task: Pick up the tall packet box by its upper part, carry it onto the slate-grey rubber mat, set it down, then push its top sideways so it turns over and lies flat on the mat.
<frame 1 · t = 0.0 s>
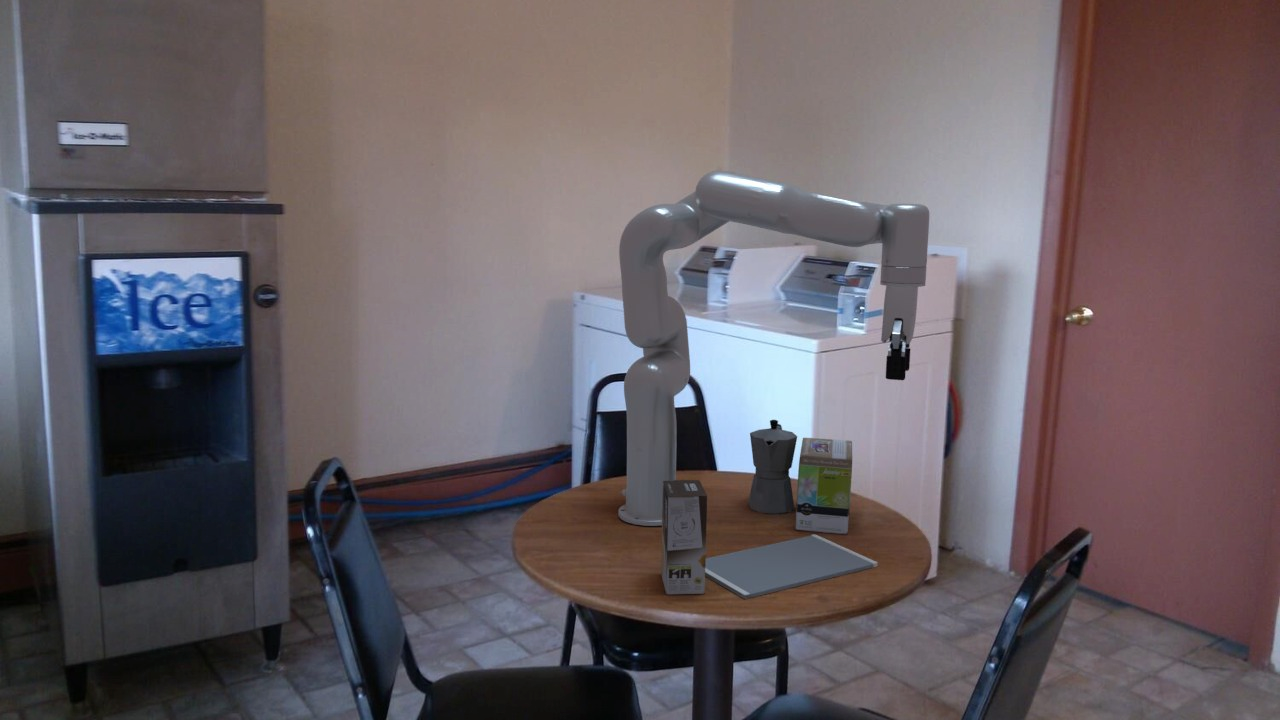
hand: (897, 374, 172), 31 cm above the table, tool pointing down, fingers open, 9 cm apart
mat: (782, 566, 167), on the table
coffeepot: (771, 506, 199), on the table
tea box: (822, 521, 191), on the table
coffee box: (682, 584, 159), on the table
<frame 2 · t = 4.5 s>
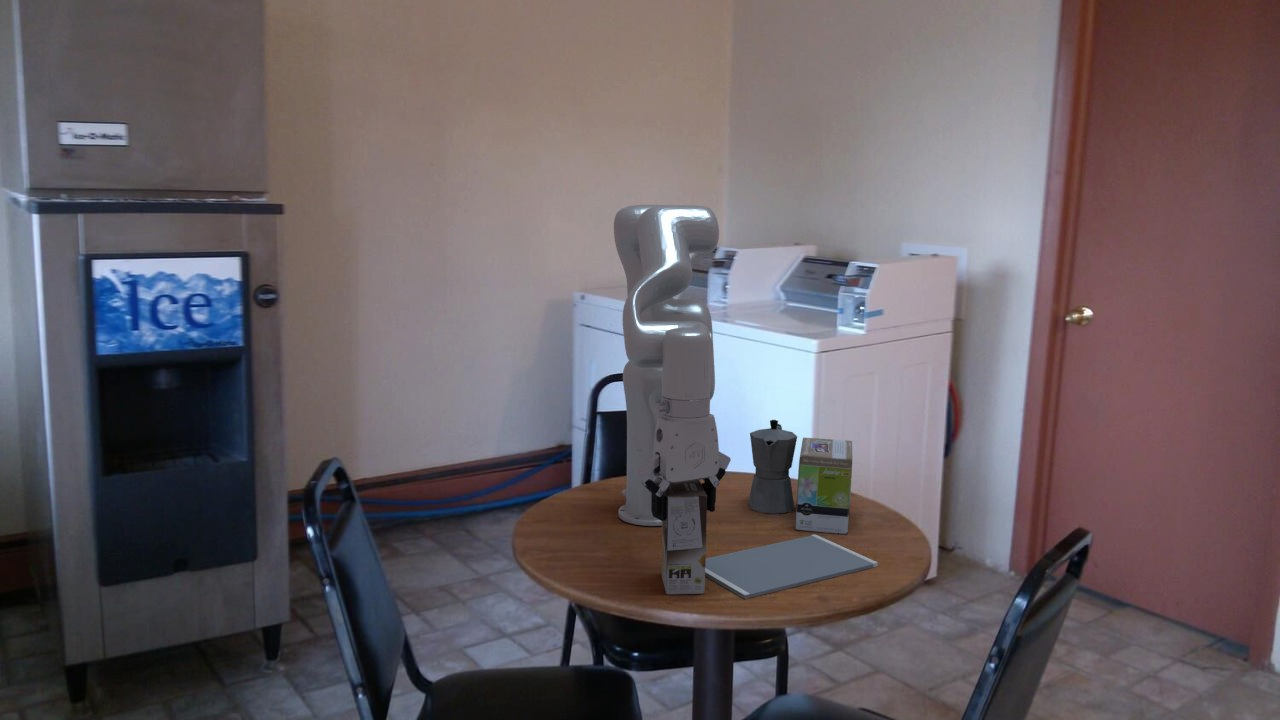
hand: (683, 513, 157), 12 cm above the table, tool pointing down, fingers closed on coffee box, 8 cm apart
coffee box: (682, 584, 159), on the table, touching gripper
everything else where it was.
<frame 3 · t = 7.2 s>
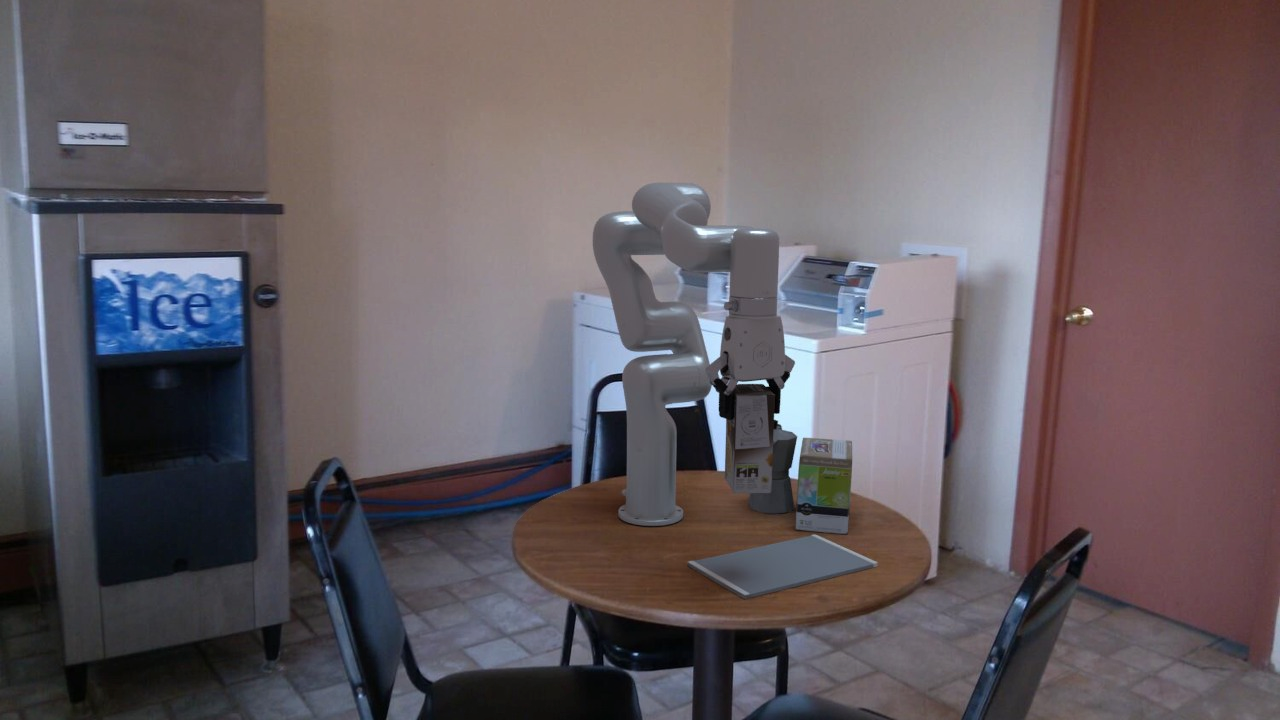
hand: (749, 414, 158), 27 cm above the table, tool pointing down, fingers closed on coffee box, 8 cm apart
coffee box: (747, 486, 160), point 15 cm above the table, touching gripper
everything else where it was.
when the fingers open (13 cm above the table, at t = 10.3 s): coffee box stays where it is, resting on mat.
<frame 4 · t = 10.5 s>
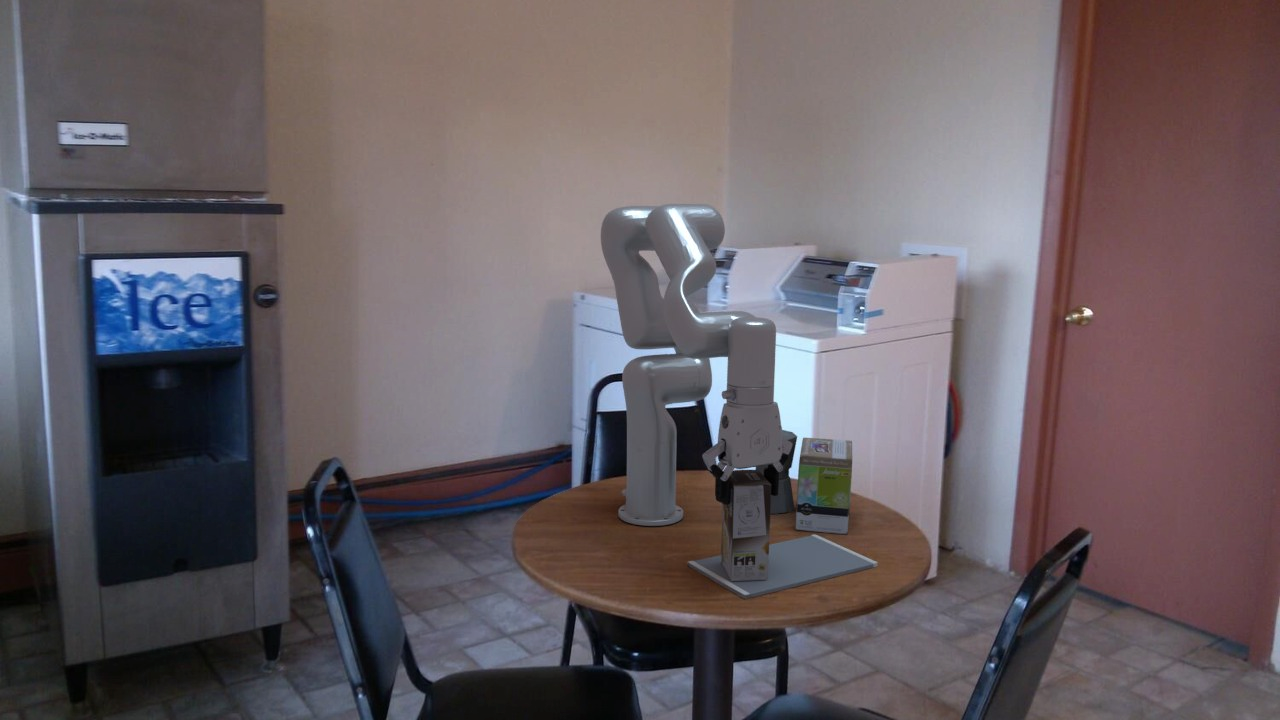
hand: (747, 498, 161), 13 cm above the table, tool pointing down, fingers open, 9 cm apart
coffee box: (743, 571, 163), resting on mat
everything else where it was.
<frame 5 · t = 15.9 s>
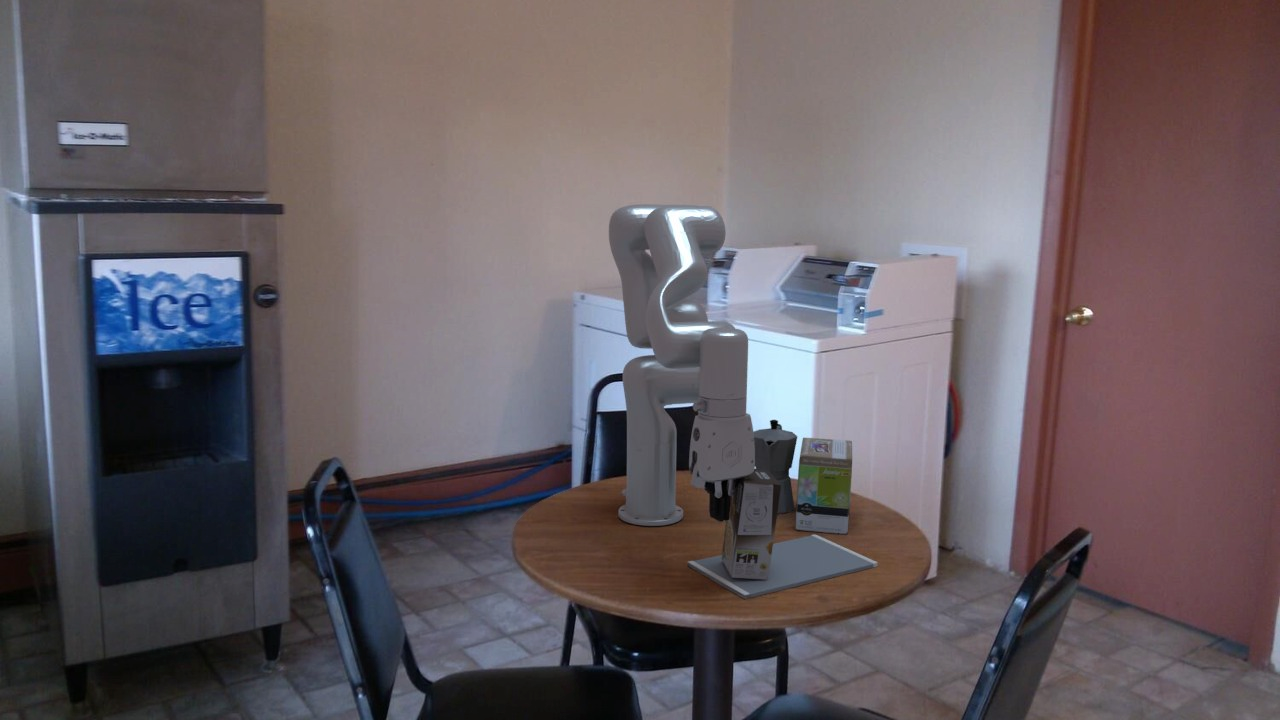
hand: (719, 518, 158), 11 cm above the table, tool pointing down, fingers closed
coffee box: (743, 570, 163), point 1 cm above the table, touching gripper, mat
everything else where it was.
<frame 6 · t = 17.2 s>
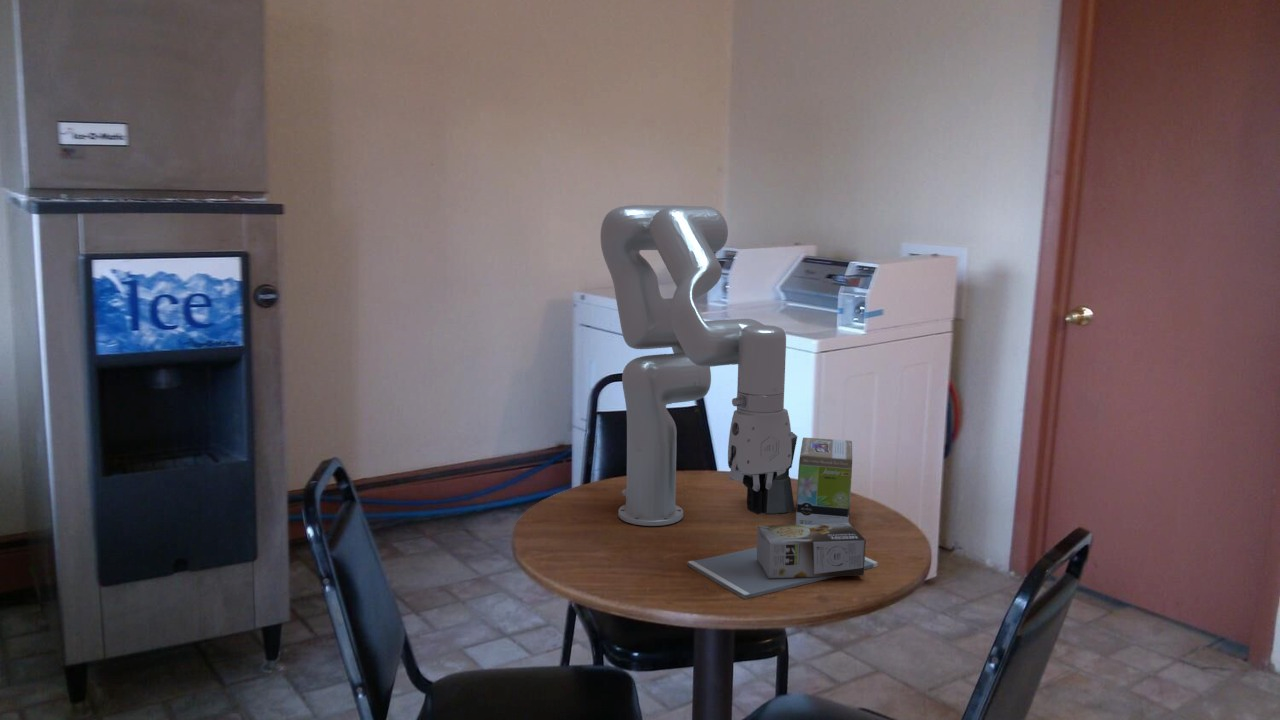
hand: (756, 511, 162), 11 cm above the table, tool pointing down, fingers closed
coffee box: (761, 551, 163), point 4 cm above the table, touching mat
everything else where it was.
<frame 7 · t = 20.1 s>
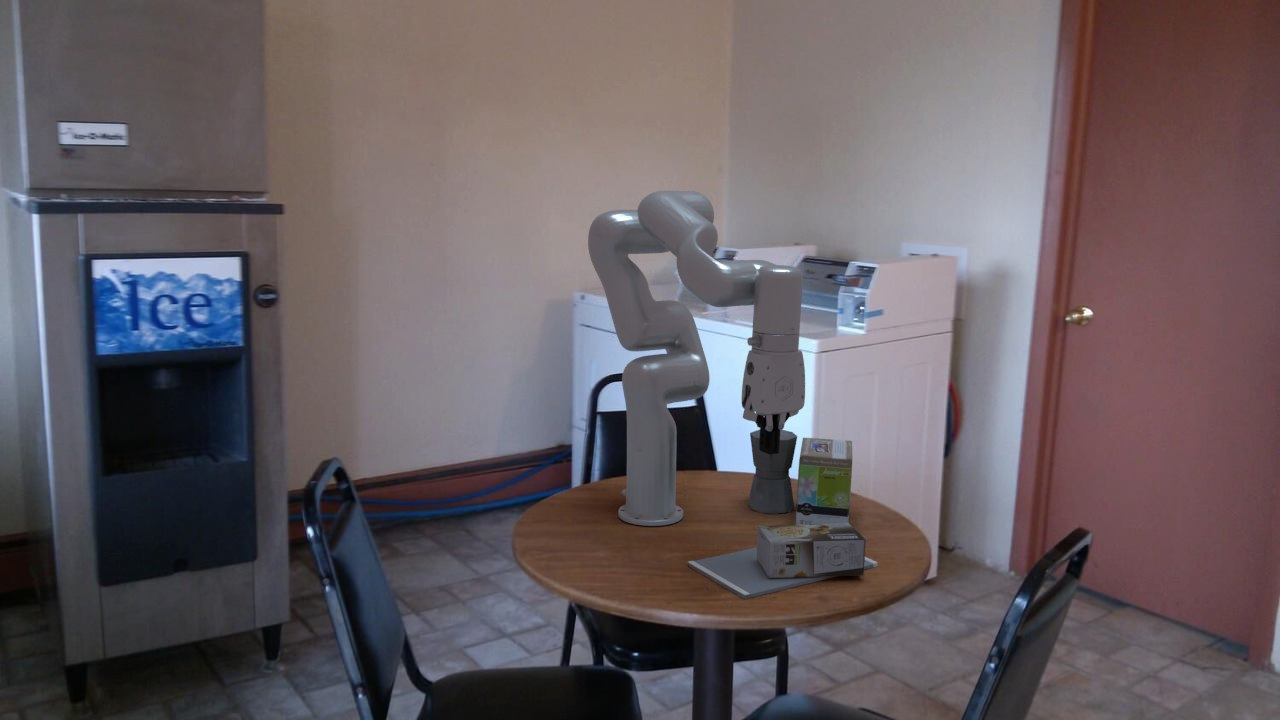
hand: (768, 451, 163), 20 cm above the table, tool pointing down, fingers closed
nothing on the table moved.
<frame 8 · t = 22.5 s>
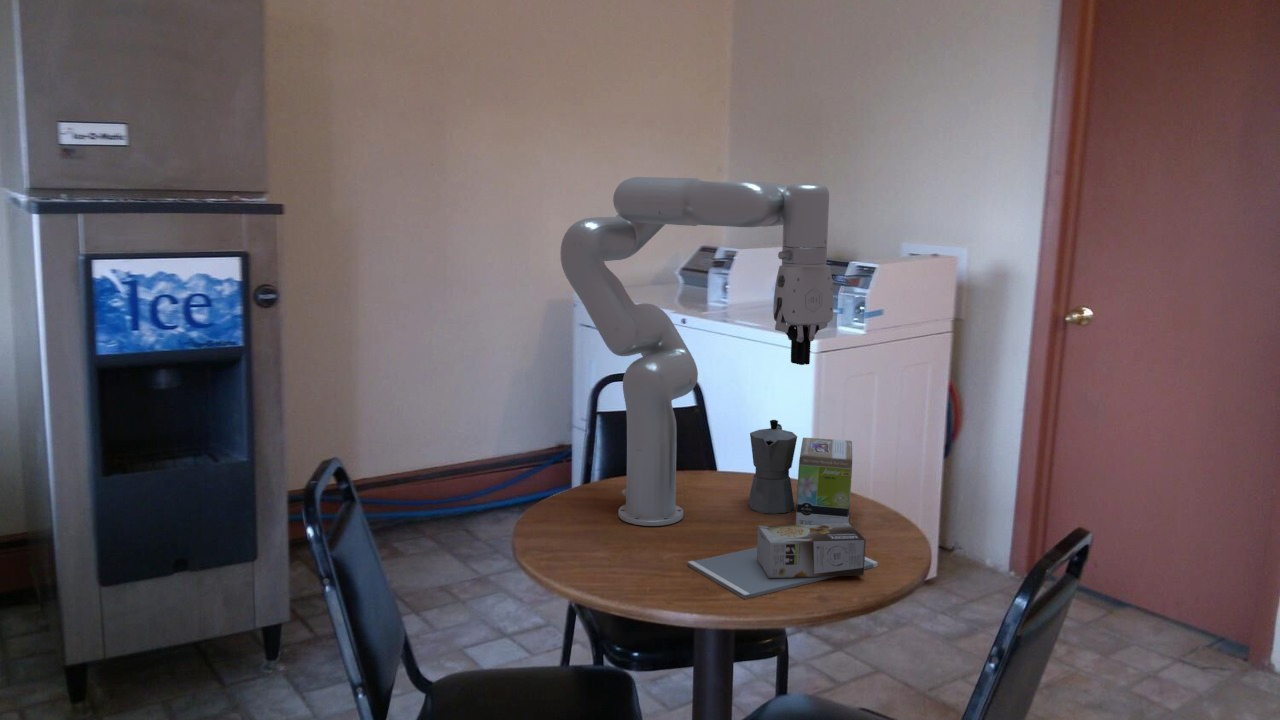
hand: (800, 363, 171), 33 cm above the table, tool pointing down, fingers closed
nothing on the table moved.
at the end: coffee box tilted 90°; coffee box inside the target area (7.2 cm from its centre), point 3.8 cm above the table; the gripper is holding nothing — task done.
